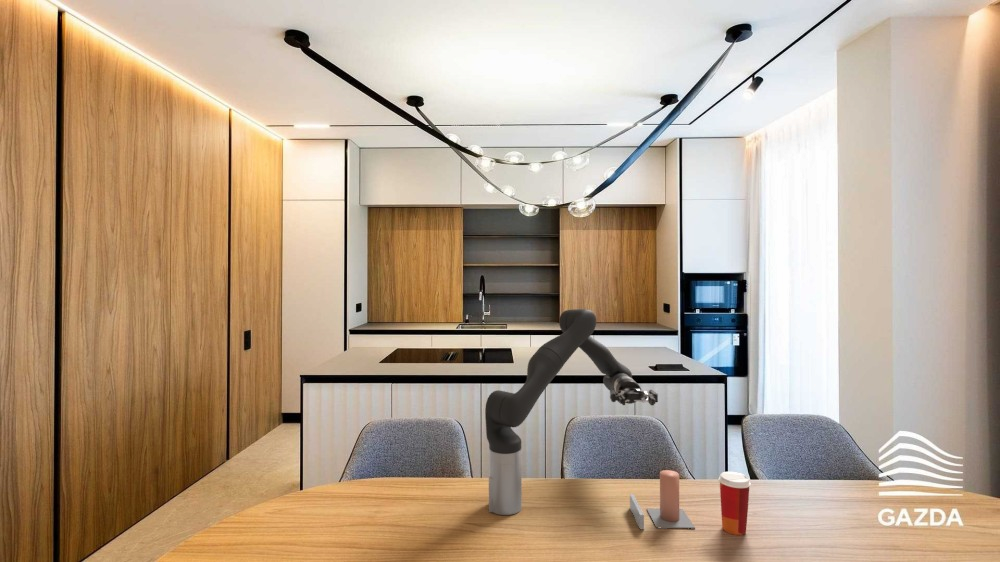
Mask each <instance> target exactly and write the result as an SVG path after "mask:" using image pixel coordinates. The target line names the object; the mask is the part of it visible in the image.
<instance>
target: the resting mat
mask: <svg viewBox="0 0 1000 562" xmlns="http://www.w3.org/2000/svg"><path fill="white" fill-rule="evenodd" d="M646 511H647V514H648V515H649V517H650V516H651V517H650V519H651V518H652V519H651V520H653V521H652V523H653V522H654V523H653V524H655V525H654V527H655V526H656V527H661V528H660V529H667V528H688V529H687V530H695V529H696V527H695V525H694V524H693V522H692V521H691V520H690V517H689V516H688V515H687V513H686V512H685V510H684V509H683V508H679V520H678V521H677V522H668V521H665V520H663V519H661V517H660V508H646ZM656 527H655V528H656ZM689 528H691V529H689Z"/></svg>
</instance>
